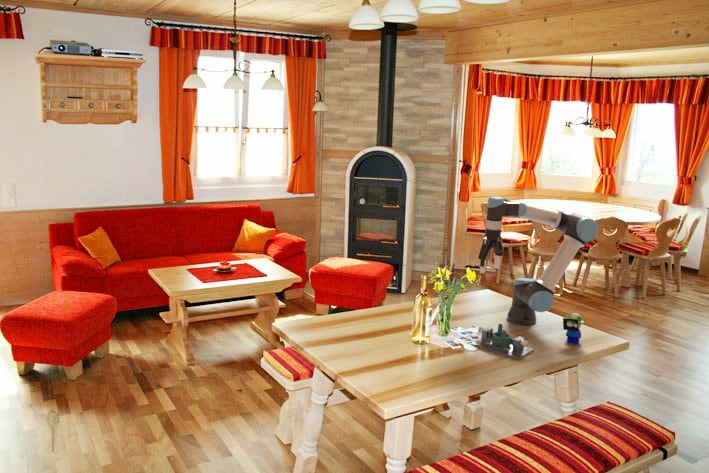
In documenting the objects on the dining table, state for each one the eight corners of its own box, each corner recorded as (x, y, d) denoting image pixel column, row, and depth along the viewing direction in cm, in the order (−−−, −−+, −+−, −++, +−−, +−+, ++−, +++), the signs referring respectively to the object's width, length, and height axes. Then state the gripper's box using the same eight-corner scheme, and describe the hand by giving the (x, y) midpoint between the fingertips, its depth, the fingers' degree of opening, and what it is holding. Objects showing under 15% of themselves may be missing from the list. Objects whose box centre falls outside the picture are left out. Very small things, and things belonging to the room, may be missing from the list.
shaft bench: (486, 336, 307) (488, 323, 306) (533, 351, 291) (535, 337, 289) (470, 344, 296) (471, 330, 295) (518, 359, 280) (519, 345, 278)
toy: (559, 342, 304) (562, 313, 301) (567, 337, 311) (570, 309, 308) (576, 347, 298) (580, 317, 295) (584, 342, 305) (588, 313, 302)
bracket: (502, 350, 288) (504, 331, 286) (487, 343, 295) (489, 325, 293) (515, 346, 293) (517, 328, 291) (499, 340, 300) (501, 322, 298)
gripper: (499, 224, 316) (495, 265, 320) (473, 230, 298) (469, 273, 302) (512, 226, 311) (508, 267, 316) (486, 232, 293) (483, 276, 297)
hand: (489, 270), depth 309 cm, fingers open, 13 cm apart
